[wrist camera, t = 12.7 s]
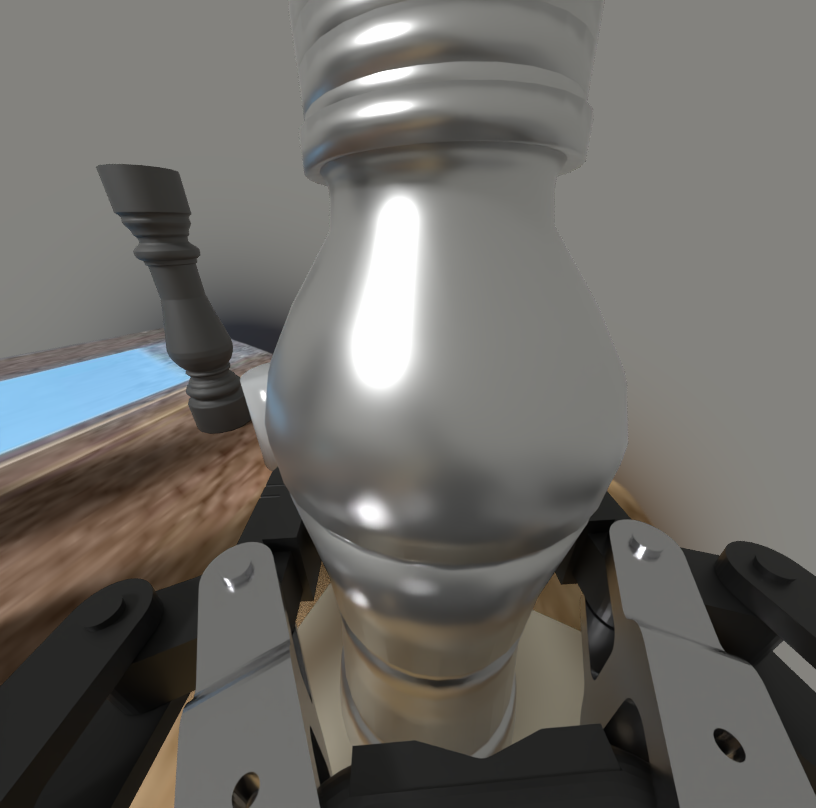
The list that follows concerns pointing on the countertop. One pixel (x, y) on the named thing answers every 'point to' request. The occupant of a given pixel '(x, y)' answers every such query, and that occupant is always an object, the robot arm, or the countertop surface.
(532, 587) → the plastic bottle
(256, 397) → the grey mug
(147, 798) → the countertop surface
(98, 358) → the countertop surface
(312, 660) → the plain beige board
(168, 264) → the candle holder
